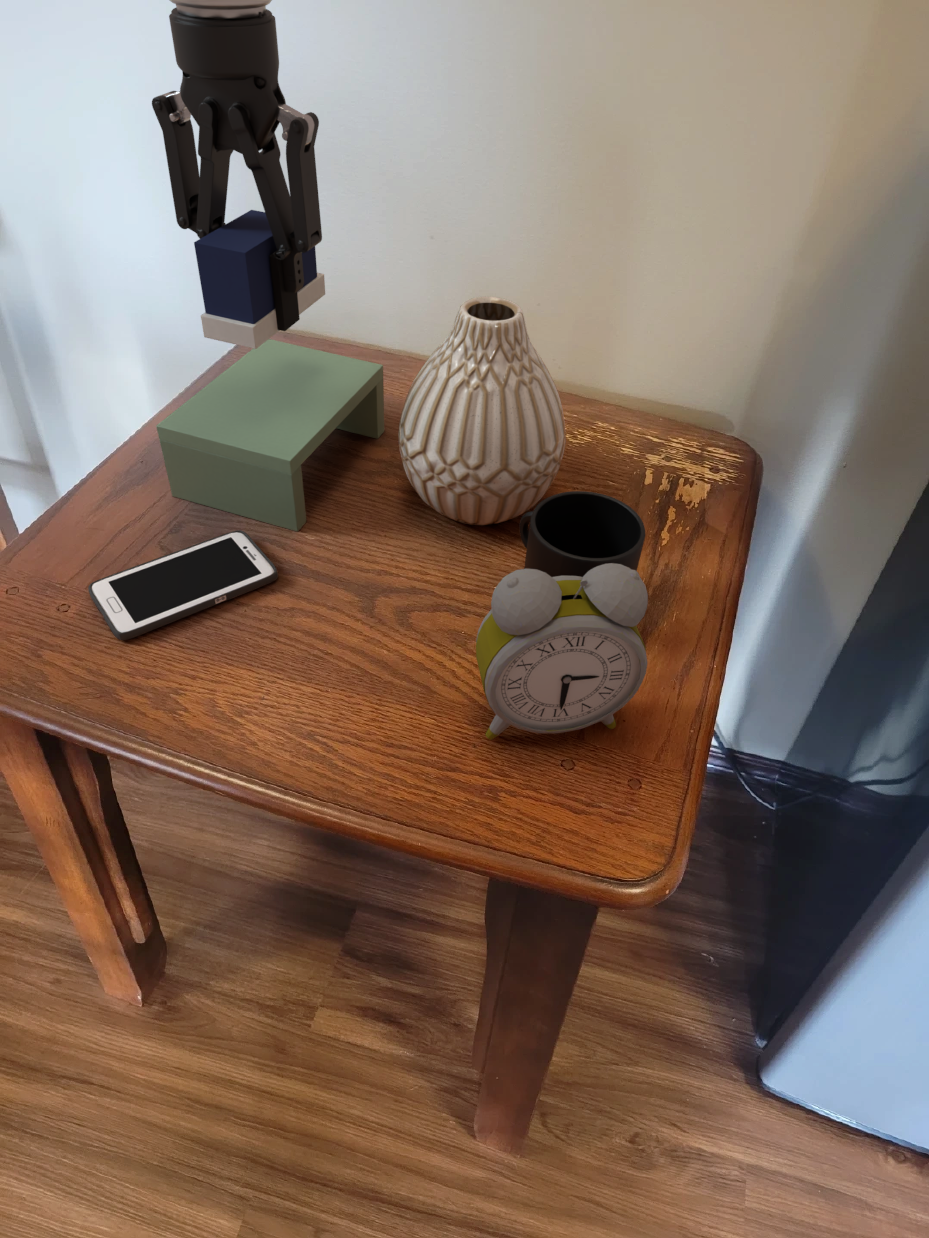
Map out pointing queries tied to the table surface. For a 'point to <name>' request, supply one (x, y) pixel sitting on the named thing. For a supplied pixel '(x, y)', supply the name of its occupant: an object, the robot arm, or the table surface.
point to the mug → (581, 534)
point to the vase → (483, 419)
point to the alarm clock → (562, 648)
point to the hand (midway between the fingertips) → (259, 317)
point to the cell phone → (181, 584)
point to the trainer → (246, 281)
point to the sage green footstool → (267, 429)
